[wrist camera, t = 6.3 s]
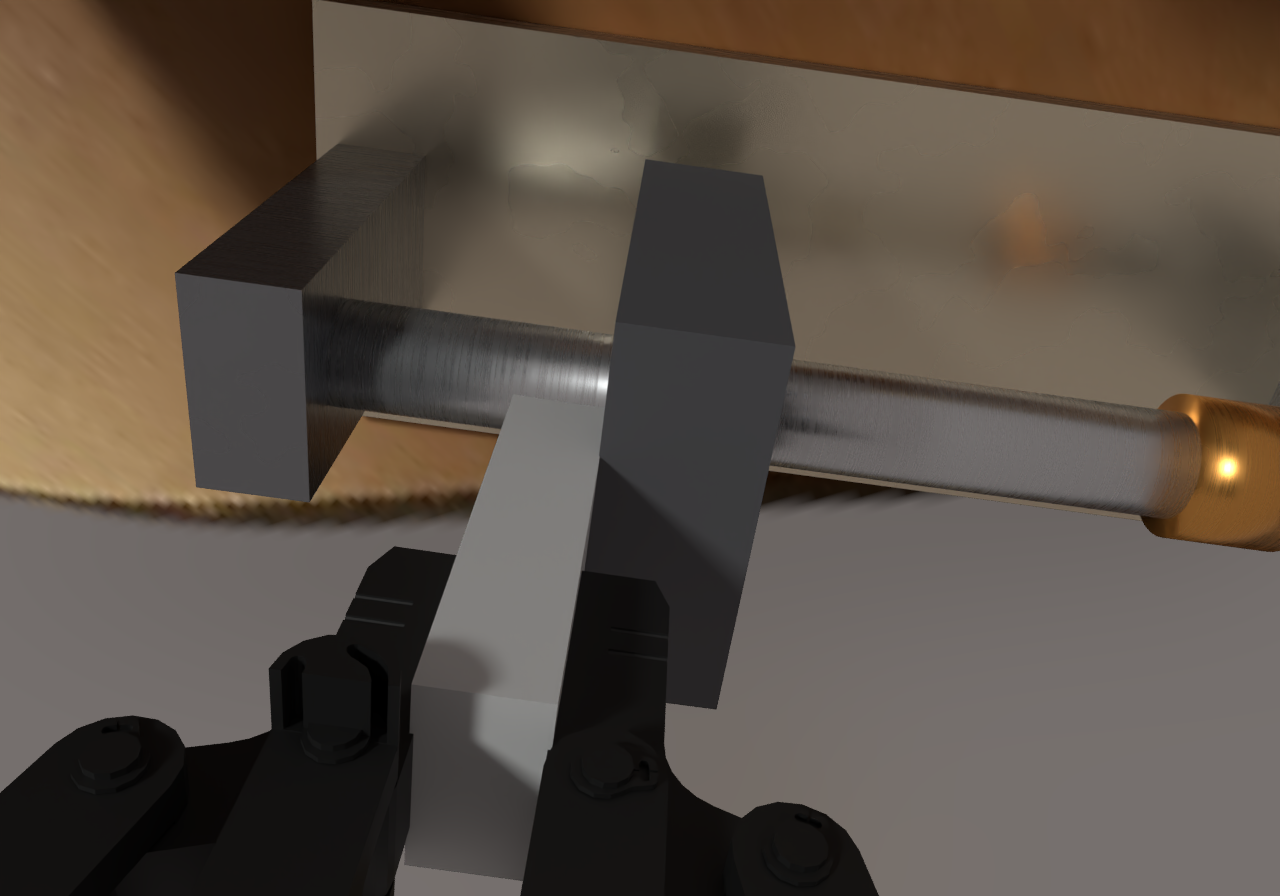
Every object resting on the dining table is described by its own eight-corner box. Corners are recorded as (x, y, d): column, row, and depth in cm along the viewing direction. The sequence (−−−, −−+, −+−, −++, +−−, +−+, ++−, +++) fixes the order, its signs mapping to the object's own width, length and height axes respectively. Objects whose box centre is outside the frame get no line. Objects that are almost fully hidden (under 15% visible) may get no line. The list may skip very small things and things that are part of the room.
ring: (609, 437, 24) (569, 690, 17) (645, 159, 21) (615, 321, 14) (712, 451, 24) (716, 709, 17) (762, 175, 21) (795, 346, 14)
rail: (335, 393, 28) (183, 616, 20) (326, -7, 23) (120, 70, 15) (1283, 521, 29) (1519, 791, 20) (1472, 156, 24) (1885, 317, 15)
